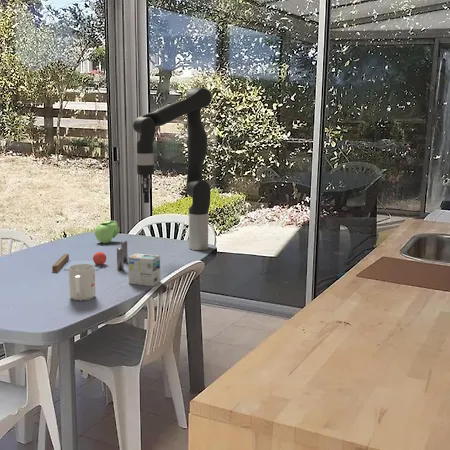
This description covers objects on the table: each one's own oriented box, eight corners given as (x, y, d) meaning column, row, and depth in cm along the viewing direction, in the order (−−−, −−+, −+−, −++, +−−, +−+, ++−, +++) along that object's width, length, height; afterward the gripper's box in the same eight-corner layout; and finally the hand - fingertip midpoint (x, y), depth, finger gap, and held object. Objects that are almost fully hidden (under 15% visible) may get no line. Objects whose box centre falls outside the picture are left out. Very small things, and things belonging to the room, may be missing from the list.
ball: (94, 250, 246) (95, 263, 247) (91, 253, 241) (91, 266, 242) (107, 250, 246) (108, 263, 247) (104, 253, 241) (105, 266, 242)
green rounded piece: (108, 246, 278) (107, 224, 275) (91, 243, 283) (91, 221, 281) (125, 241, 288) (124, 220, 285) (108, 239, 293) (108, 218, 291)
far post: (128, 260, 251) (127, 240, 250) (127, 262, 249) (126, 242, 247) (122, 260, 251) (121, 240, 249) (121, 262, 249) (120, 242, 247)
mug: (73, 293, 206) (71, 263, 204) (97, 293, 206) (96, 263, 204) (64, 304, 194) (63, 273, 192) (91, 304, 195) (89, 273, 192)
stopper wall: (68, 259, 253) (68, 253, 252) (57, 271, 233) (57, 266, 233) (64, 259, 253) (64, 253, 252) (52, 271, 233) (52, 266, 233)
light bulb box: (161, 282, 221) (160, 255, 219) (153, 287, 215) (153, 259, 213) (136, 279, 225) (135, 252, 222) (128, 283, 218) (127, 256, 216)
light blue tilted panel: (104, 261, 250) (104, 260, 250) (98, 269, 237) (98, 269, 237) (71, 261, 250) (71, 260, 250) (64, 269, 236) (64, 269, 236)
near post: (124, 268, 239) (123, 247, 237) (123, 270, 236) (122, 249, 235) (117, 268, 239) (117, 247, 237) (116, 270, 236) (116, 249, 234)
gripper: (153, 165, 243) (154, 205, 247) (155, 162, 256) (156, 200, 260) (135, 165, 243) (136, 205, 246) (138, 162, 256) (139, 200, 259)
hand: (146, 202), depth 253 cm, fingers closed
